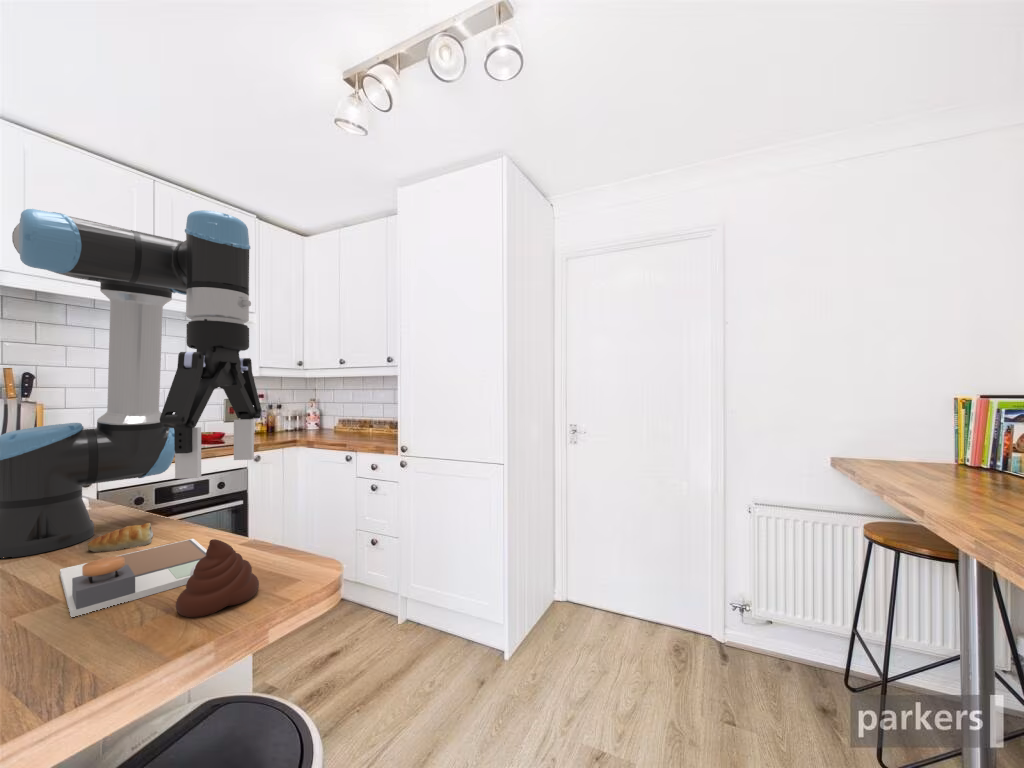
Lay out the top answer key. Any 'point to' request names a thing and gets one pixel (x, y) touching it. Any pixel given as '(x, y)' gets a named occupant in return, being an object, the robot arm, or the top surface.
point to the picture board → (132, 577)
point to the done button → (103, 568)
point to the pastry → (122, 538)
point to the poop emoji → (217, 582)
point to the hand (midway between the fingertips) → (219, 468)
